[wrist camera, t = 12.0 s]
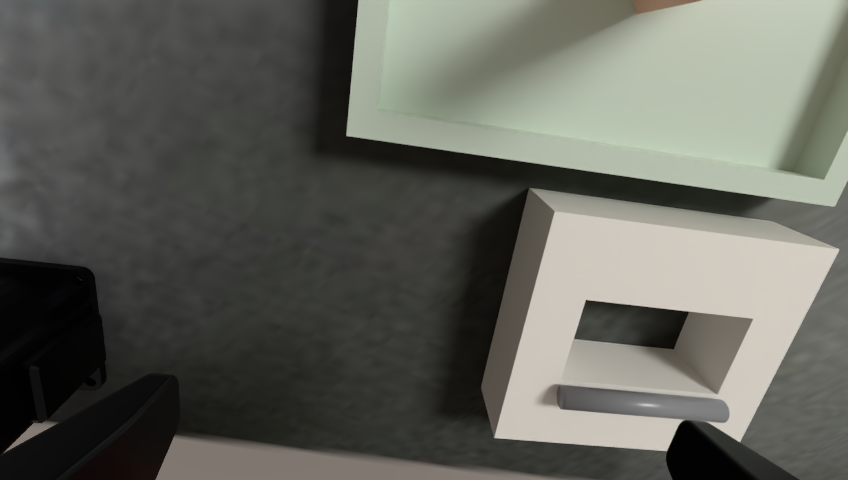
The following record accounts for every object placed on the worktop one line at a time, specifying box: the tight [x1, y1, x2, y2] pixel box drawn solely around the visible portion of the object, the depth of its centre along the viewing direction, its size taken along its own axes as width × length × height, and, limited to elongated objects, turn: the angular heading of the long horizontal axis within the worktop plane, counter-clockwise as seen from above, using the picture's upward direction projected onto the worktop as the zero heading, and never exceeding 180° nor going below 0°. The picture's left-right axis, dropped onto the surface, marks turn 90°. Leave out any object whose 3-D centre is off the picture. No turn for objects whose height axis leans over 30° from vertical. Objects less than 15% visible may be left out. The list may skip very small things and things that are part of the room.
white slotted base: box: [481, 188, 840, 451], centre depth 21 cm, size 12×11×4 cm
